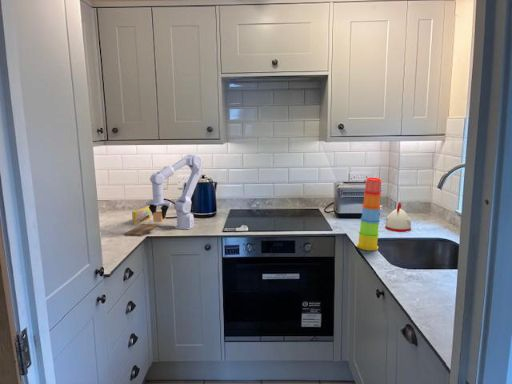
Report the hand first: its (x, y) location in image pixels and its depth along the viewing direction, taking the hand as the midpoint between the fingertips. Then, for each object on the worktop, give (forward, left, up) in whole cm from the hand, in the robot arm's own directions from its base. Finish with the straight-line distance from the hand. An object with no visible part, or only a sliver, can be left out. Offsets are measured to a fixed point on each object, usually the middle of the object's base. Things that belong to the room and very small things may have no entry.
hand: (159, 218), depth 213 cm
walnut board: (+12, -1, -8) cm, 15 cm away
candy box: (+23, -20, -9) cm, 32 cm away
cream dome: (-133, -33, -9) cm, 137 cm away
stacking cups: (-114, +5, -9) cm, 114 cm away
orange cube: (0, 0, -1) cm, 1 cm away
